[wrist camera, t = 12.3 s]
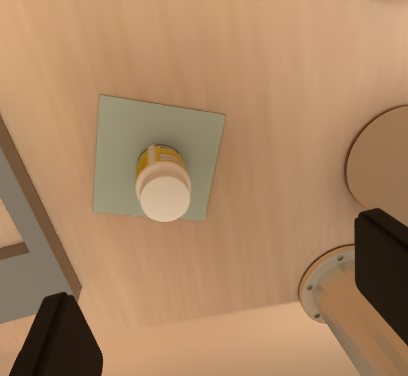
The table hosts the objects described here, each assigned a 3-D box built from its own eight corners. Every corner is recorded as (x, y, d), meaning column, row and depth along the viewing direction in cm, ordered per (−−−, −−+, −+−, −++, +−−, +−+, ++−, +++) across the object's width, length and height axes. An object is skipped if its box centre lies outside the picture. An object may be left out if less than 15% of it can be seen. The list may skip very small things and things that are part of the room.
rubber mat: (224, 114, 32) (225, 115, 32) (203, 219, 36) (204, 221, 36) (100, 94, 29) (99, 95, 29) (93, 210, 34) (92, 212, 33)
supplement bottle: (147, 192, 34) (147, 235, 26) (128, 152, 31) (123, 185, 24) (190, 176, 34) (203, 214, 26) (174, 135, 32) (183, 162, 24)
